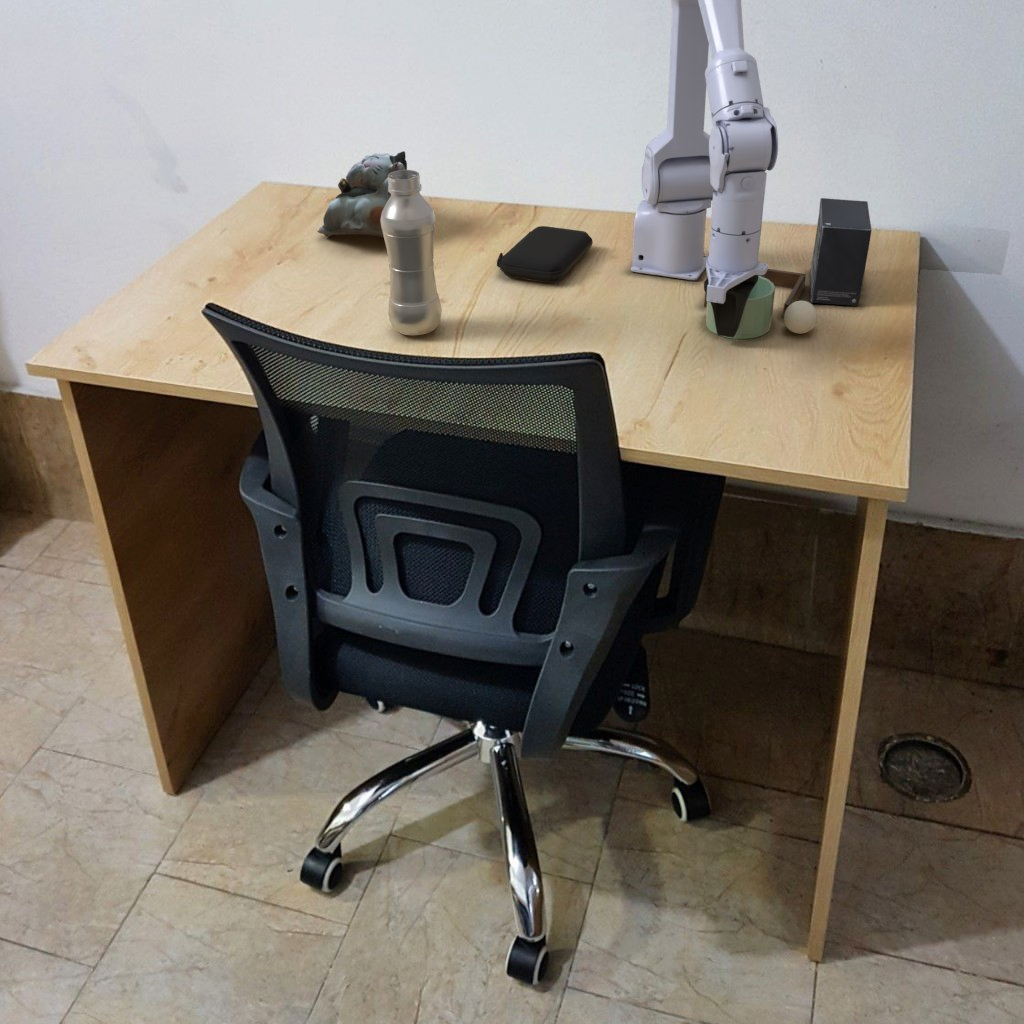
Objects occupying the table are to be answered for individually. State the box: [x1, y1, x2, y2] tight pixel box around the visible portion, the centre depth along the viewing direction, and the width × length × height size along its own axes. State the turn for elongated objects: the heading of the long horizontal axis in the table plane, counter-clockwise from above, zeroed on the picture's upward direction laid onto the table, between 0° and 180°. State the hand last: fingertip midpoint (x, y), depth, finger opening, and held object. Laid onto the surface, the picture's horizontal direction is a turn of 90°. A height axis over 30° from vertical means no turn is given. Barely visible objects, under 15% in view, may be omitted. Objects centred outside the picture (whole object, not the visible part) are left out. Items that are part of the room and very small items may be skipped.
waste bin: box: [705, 276, 776, 340], centre depth 141 cm, size 8×8×5 cm
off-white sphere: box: [783, 300, 819, 335], centre depth 139 cm, size 4×4×4 cm
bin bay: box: [703, 268, 807, 319], centre depth 148 cm, size 11×10×2 cm
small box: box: [809, 197, 873, 307], centre depth 147 cm, size 11×6×10 cm, turn 168°
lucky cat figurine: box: [316, 150, 408, 238], centre depth 168 cm, size 15×12×14 cm
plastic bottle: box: [380, 169, 443, 336], centre depth 138 cm, size 6×7×20 cm
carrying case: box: [496, 225, 594, 284], centre depth 159 cm, size 11×3×15 cm
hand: (726, 334), depth 137 cm, fingers closed
